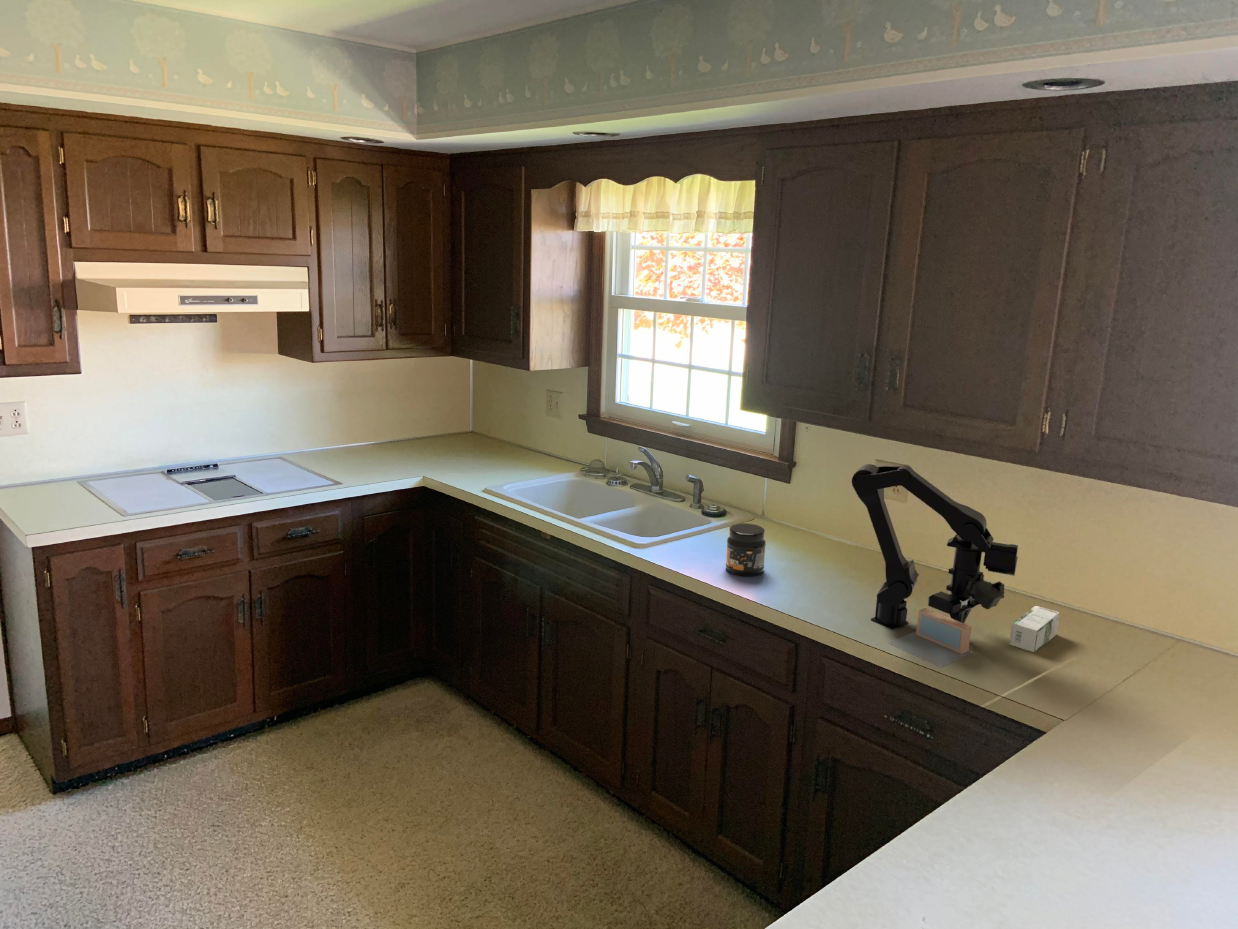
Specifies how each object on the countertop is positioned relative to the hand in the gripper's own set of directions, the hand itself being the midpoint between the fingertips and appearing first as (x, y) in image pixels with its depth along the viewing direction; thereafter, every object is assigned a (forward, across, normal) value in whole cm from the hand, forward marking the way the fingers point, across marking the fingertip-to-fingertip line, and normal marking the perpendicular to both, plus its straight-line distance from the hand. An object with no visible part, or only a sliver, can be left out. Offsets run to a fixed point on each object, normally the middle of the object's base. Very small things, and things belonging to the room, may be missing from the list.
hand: (958, 629), depth 210 cm
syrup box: (-1, +6, -12) cm, 14 cm away
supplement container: (+2, -11, +58) cm, 59 cm away
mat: (+2, -11, 0) cm, 11 cm away
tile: (+2, -6, 0) cm, 6 cm away
